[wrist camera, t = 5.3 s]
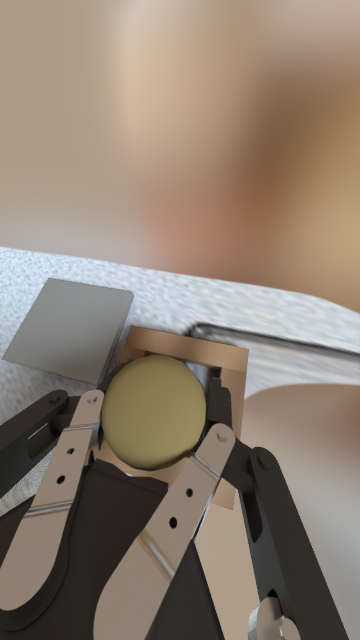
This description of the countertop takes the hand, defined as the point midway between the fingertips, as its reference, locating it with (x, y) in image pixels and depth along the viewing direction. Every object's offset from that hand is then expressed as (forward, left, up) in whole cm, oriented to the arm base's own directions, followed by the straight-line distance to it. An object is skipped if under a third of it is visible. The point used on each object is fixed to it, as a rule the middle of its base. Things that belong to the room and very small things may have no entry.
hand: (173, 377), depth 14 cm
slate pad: (-14, +3, -5) cm, 15 cm away
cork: (0, -2, -5) cm, 6 cm away
